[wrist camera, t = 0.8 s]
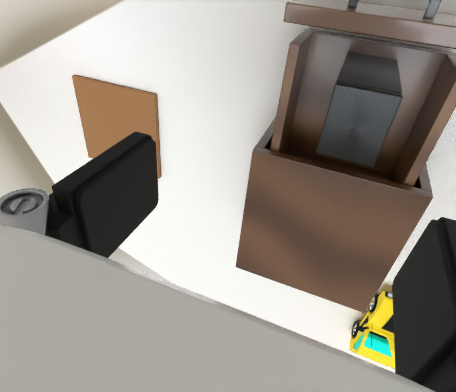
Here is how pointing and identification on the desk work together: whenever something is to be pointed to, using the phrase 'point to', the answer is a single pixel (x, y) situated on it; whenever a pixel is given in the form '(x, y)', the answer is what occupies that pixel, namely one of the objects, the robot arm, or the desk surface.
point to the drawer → (375, 26)
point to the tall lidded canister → (361, 109)
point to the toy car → (376, 331)
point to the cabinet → (325, 225)
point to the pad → (115, 114)
